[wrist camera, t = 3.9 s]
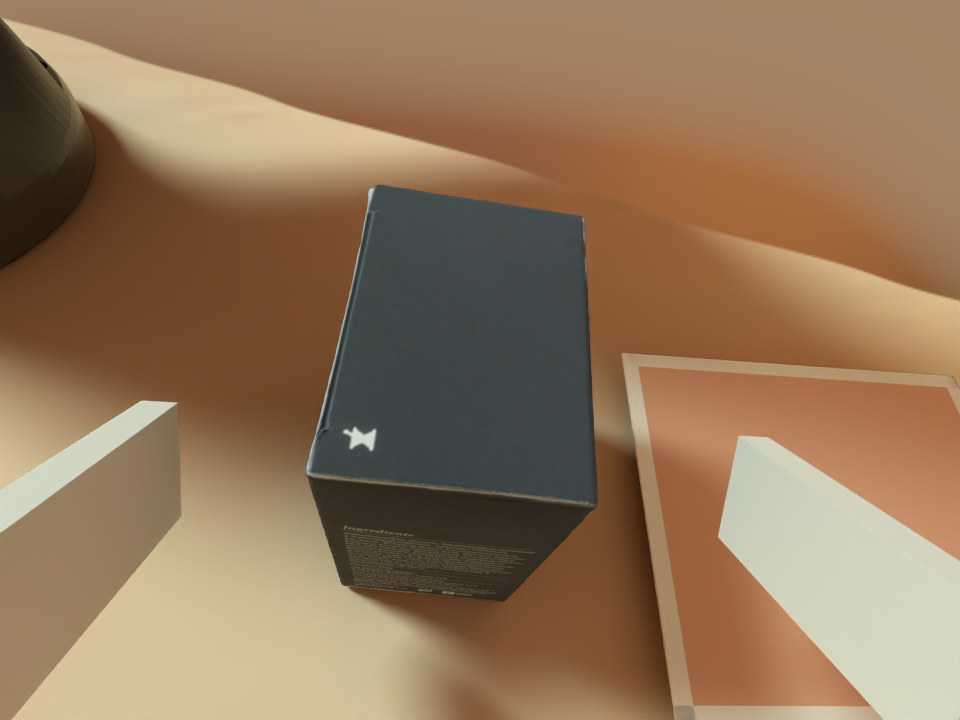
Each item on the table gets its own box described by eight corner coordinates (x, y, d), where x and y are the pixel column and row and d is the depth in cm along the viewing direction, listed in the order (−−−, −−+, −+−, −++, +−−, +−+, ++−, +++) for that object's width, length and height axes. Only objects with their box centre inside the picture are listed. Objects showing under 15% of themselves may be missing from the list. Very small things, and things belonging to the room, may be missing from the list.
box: (508, 604, 20) (604, 512, 11) (339, 588, 19) (290, 478, 10) (516, 399, 24) (590, 207, 15) (377, 382, 23) (367, 174, 14)
